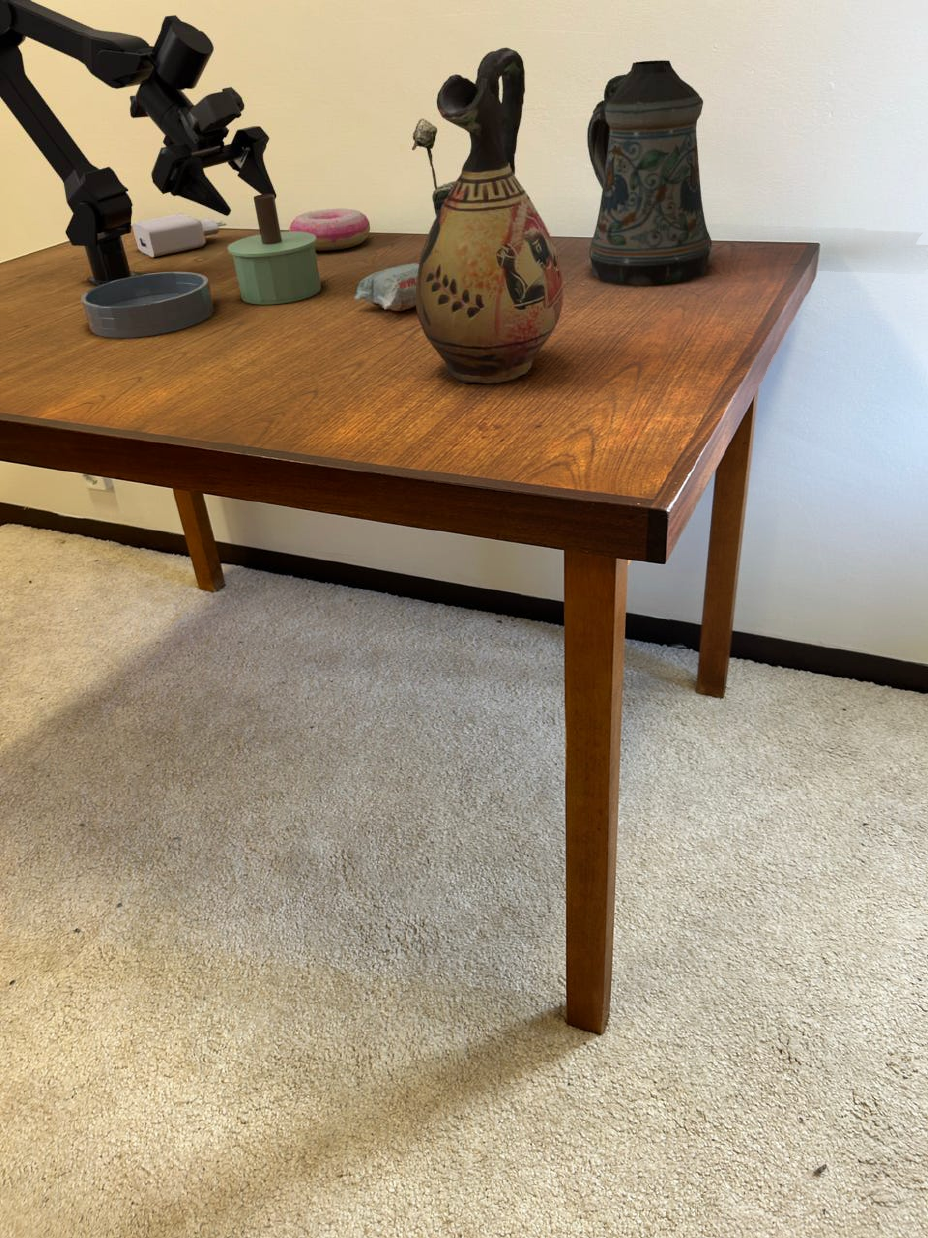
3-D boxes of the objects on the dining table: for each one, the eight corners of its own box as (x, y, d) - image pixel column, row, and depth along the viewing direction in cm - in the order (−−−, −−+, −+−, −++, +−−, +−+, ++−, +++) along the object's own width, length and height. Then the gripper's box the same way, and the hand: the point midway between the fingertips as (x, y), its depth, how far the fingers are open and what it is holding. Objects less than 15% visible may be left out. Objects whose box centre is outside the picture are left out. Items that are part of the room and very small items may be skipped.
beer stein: (686, 290, 122) (699, 67, 108) (550, 280, 130) (545, 73, 116) (725, 257, 133) (741, 52, 119) (598, 250, 142) (599, 58, 128)
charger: (237, 241, 166) (154, 258, 160) (217, 233, 173) (138, 249, 166) (231, 212, 163) (147, 229, 157) (212, 205, 170) (130, 221, 164)
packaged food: (462, 301, 125) (459, 263, 122) (387, 323, 120) (382, 283, 117) (426, 290, 131) (422, 253, 128) (353, 310, 126) (347, 272, 123)
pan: (73, 321, 132) (64, 292, 130) (184, 293, 140) (177, 265, 137) (116, 346, 120) (107, 315, 118) (234, 314, 128) (228, 284, 126)
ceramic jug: (521, 404, 94) (505, 58, 77) (396, 384, 102) (357, 64, 85) (594, 349, 106) (595, 37, 89) (477, 335, 113) (457, 44, 96)
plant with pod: (464, 278, 135) (452, 122, 123) (409, 268, 141) (393, 119, 130) (501, 264, 139) (493, 112, 128) (446, 256, 146) (434, 110, 135)
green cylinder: (228, 294, 137) (218, 248, 133) (296, 277, 142) (288, 232, 139) (264, 309, 129) (255, 260, 126) (335, 290, 135) (328, 242, 131)
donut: (367, 252, 152) (363, 219, 149) (285, 258, 153) (280, 225, 150) (375, 232, 163) (371, 202, 160) (299, 238, 164) (294, 208, 161)
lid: (214, 253, 134) (202, 199, 130) (290, 235, 140) (281, 183, 136) (254, 266, 125) (243, 209, 121) (333, 247, 131) (325, 192, 127)
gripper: (142, 76, 117) (225, 175, 118) (245, 59, 130) (320, 148, 131) (118, 146, 125) (196, 237, 126) (217, 124, 138) (288, 207, 139)
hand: (252, 205), depth 130 cm, fingers open, 9 cm apart
